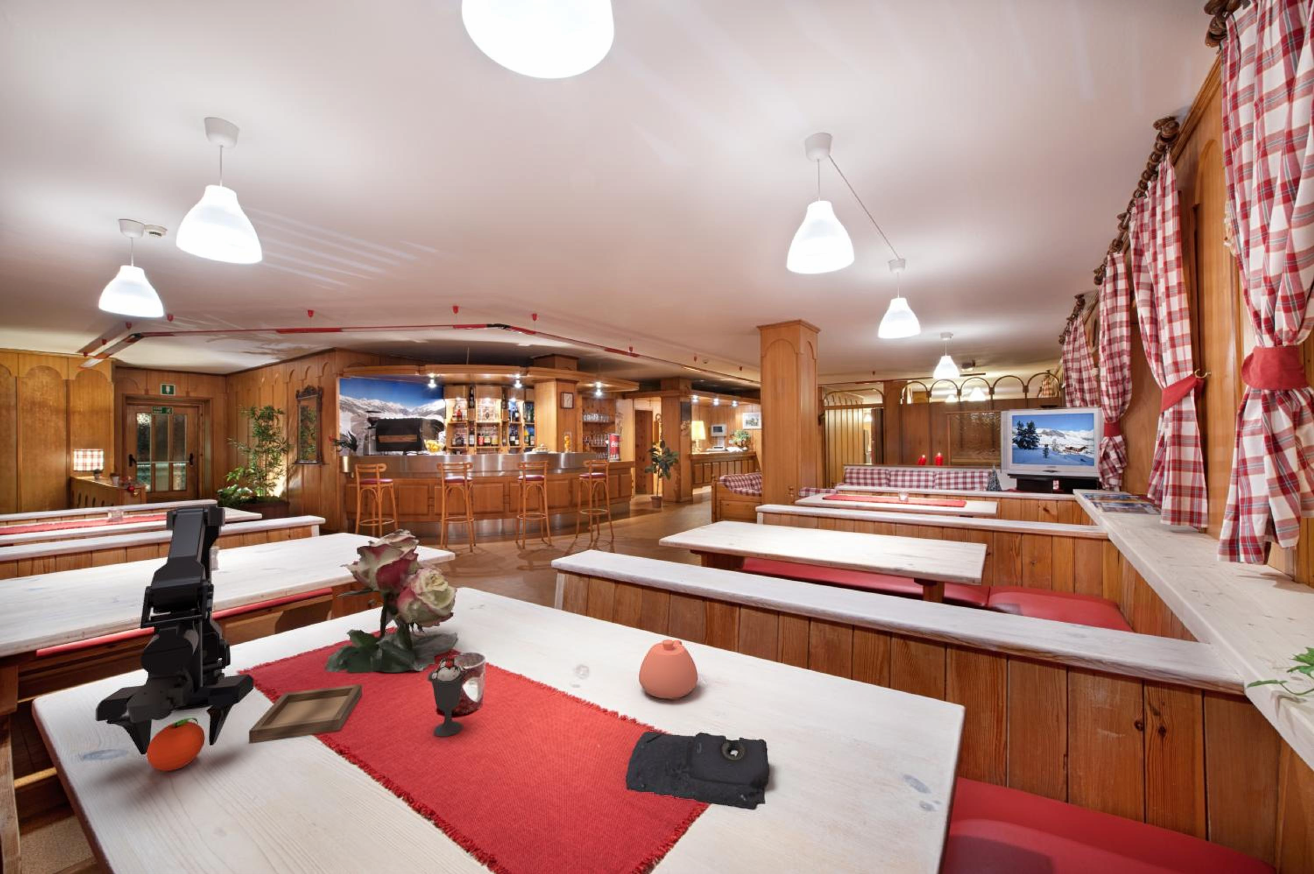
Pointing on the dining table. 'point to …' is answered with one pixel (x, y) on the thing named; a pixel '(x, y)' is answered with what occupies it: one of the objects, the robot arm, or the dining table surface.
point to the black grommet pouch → (701, 768)
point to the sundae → (447, 693)
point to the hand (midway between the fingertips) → (179, 748)
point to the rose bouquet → (397, 609)
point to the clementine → (176, 745)
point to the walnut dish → (306, 713)
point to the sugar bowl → (668, 670)
